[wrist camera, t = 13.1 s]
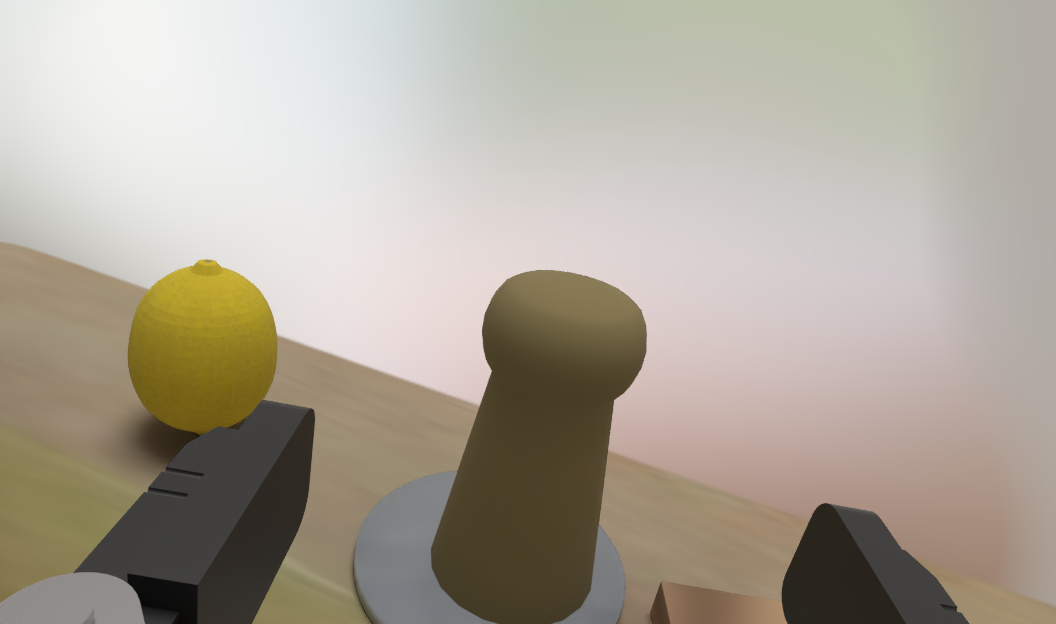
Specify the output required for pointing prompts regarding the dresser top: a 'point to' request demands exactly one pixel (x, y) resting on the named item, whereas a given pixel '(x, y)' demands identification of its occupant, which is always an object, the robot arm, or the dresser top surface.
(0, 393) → the dresser top surface
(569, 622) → the slate coaster
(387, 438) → the dresser top surface
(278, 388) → the dresser top surface
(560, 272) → the cork
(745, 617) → the walnut board
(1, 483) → the dresser top surface
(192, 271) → the lemon
